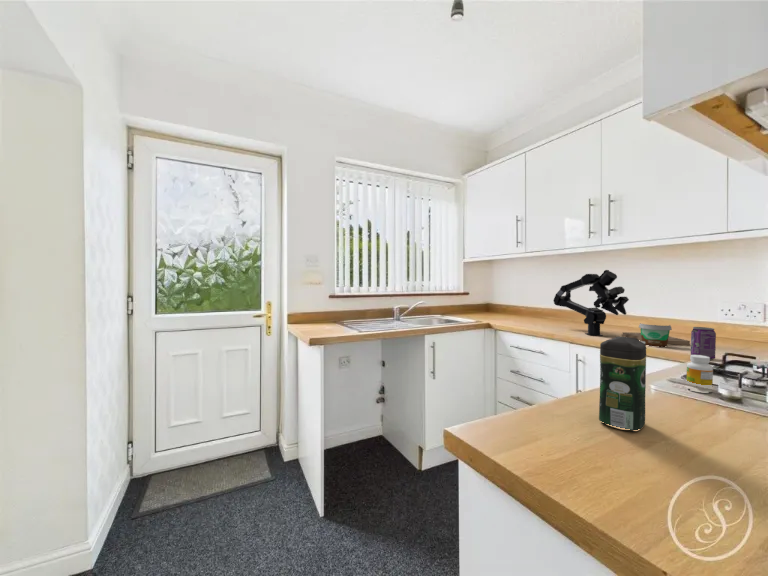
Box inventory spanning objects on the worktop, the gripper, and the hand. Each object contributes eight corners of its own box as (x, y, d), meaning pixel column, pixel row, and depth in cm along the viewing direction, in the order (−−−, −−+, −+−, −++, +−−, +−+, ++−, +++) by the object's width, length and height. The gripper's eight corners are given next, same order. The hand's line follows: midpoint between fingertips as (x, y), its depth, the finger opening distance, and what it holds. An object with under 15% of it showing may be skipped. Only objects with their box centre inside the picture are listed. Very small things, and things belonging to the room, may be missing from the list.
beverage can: (697, 355, 139) (698, 326, 139) (719, 359, 133) (720, 328, 132) (686, 357, 137) (687, 327, 136) (708, 361, 130) (709, 329, 130)
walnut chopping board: (622, 336, 187) (622, 332, 186) (653, 336, 185) (653, 332, 185) (654, 344, 163) (654, 340, 163) (689, 345, 162) (689, 340, 161)
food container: (640, 346, 159) (641, 324, 159) (638, 343, 164) (638, 323, 164) (674, 348, 153) (675, 326, 153) (670, 346, 159) (671, 324, 158)
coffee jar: (605, 412, 80) (607, 333, 79) (648, 422, 74) (650, 337, 74) (593, 424, 73) (595, 338, 73) (639, 437, 67) (641, 343, 67)
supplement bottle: (681, 387, 99) (682, 353, 98) (702, 388, 98) (703, 354, 97) (694, 393, 93) (695, 358, 93) (717, 394, 92) (718, 358, 92)
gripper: (599, 281, 176) (619, 304, 166) (625, 281, 182) (646, 303, 171) (585, 295, 184) (603, 318, 173) (611, 295, 189) (630, 317, 179)
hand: (621, 314), depth 174 cm, fingers open, 5 cm apart
